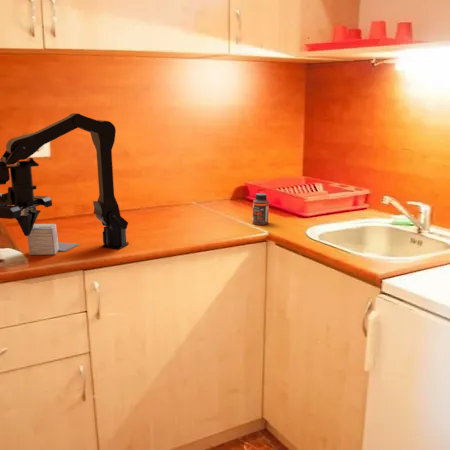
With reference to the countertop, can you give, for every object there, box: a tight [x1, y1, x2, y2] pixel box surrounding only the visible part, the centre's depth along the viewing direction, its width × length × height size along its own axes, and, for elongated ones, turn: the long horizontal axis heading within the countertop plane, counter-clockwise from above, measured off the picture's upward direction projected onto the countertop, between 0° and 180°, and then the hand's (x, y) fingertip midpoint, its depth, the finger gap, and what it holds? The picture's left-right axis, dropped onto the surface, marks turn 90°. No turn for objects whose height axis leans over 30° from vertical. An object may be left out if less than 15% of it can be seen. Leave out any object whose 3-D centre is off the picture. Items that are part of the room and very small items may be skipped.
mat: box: [57, 241, 80, 253], centre depth 172 cm, size 9×8×1 cm
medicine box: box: [26, 223, 59, 256], centre depth 164 cm, size 8×4×9 cm, turn 92°
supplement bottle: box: [252, 192, 270, 226], centre depth 202 cm, size 6×6×11 cm
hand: (27, 235), depth 158 cm, fingers closed
